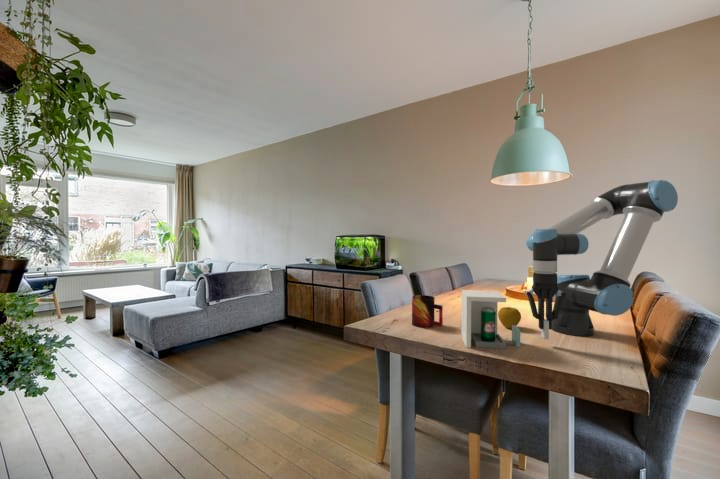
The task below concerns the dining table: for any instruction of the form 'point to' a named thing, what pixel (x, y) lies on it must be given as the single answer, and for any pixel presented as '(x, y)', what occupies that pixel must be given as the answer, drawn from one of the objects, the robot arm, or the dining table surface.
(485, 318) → the soda can
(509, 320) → the apple
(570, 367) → the dining table surface
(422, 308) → the mug
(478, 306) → the cubby
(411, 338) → the dining table surface
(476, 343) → the sled
